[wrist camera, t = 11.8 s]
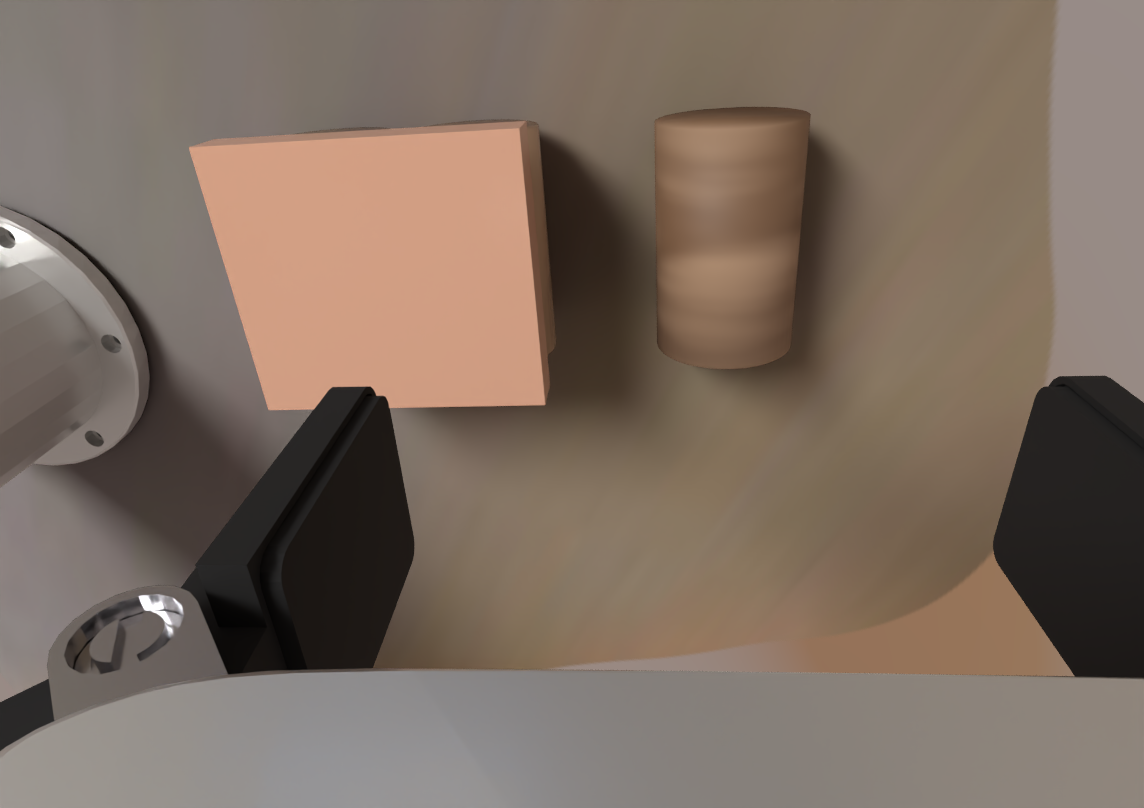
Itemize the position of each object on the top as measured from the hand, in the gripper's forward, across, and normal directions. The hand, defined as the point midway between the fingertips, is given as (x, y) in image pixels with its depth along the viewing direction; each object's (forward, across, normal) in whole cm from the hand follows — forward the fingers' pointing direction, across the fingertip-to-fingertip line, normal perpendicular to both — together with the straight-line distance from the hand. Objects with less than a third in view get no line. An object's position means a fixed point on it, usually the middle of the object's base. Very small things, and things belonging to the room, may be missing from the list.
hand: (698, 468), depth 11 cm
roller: (+19, -3, +1) cm, 19 cm away
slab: (+19, +9, +1) cm, 21 cm away
